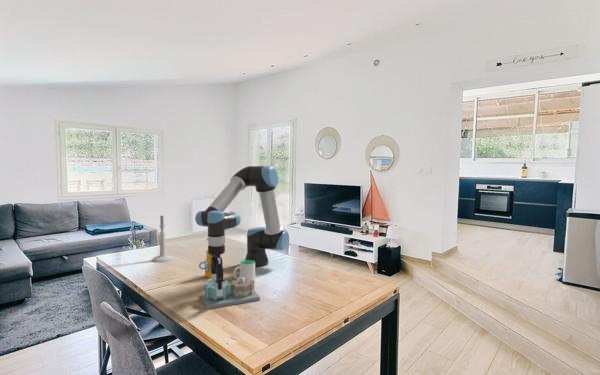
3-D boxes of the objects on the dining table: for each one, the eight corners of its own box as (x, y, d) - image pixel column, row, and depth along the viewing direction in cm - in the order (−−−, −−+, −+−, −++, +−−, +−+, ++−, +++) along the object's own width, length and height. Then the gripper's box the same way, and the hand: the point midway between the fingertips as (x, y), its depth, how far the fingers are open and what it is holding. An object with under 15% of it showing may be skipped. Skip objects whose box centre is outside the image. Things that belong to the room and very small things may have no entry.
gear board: (249, 288, 169) (249, 271, 169) (259, 300, 154) (259, 282, 153) (201, 295, 159) (200, 278, 159) (206, 309, 144) (206, 290, 143)
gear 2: (244, 286, 167) (244, 277, 166) (258, 292, 159) (258, 282, 159) (226, 292, 159) (226, 282, 158) (240, 299, 151) (240, 288, 151)
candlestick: (177, 258, 223) (176, 214, 222) (160, 263, 213) (159, 216, 211) (165, 256, 230) (164, 213, 228) (148, 260, 219) (147, 215, 218)
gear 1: (226, 288, 161) (226, 278, 161) (232, 297, 151) (232, 286, 151) (203, 292, 157) (203, 282, 156) (207, 301, 147) (207, 290, 146)
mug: (237, 286, 171) (237, 266, 171) (230, 282, 178) (230, 263, 177) (258, 281, 179) (257, 262, 178) (250, 277, 185) (250, 259, 184)
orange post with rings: (214, 280, 180) (213, 253, 180) (196, 279, 182) (196, 252, 182) (223, 273, 192) (223, 248, 191) (207, 272, 194) (206, 247, 194)
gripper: (204, 240, 161) (204, 284, 163) (212, 251, 140) (213, 302, 142) (219, 239, 165) (220, 282, 166) (230, 249, 143) (230, 299, 145)
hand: (217, 291), depth 154 cm, fingers closed on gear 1, 11 cm apart
